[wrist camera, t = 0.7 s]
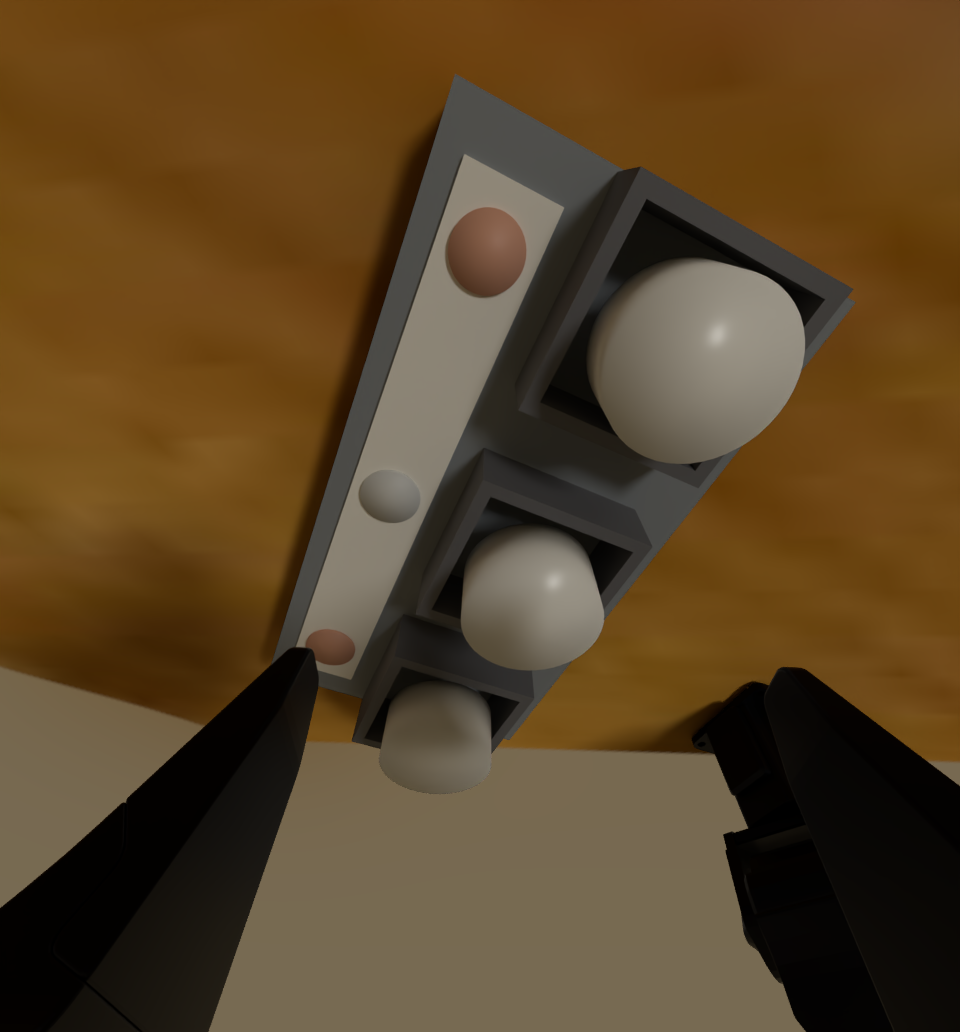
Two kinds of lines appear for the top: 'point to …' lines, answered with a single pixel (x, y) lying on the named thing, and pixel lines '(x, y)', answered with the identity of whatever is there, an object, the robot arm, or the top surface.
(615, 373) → the button
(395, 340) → the button board
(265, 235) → the top surface
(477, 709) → the button end
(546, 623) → the button mid
